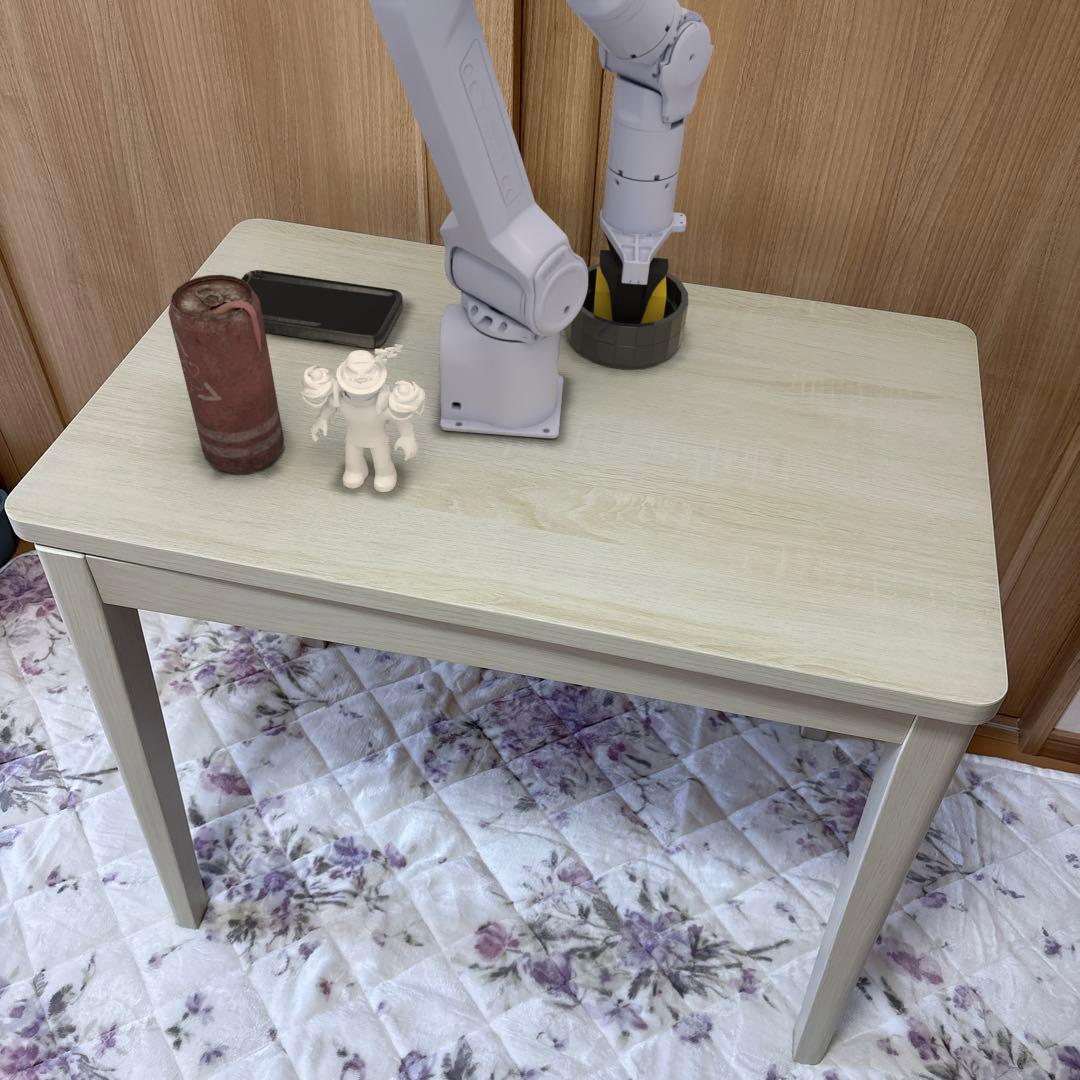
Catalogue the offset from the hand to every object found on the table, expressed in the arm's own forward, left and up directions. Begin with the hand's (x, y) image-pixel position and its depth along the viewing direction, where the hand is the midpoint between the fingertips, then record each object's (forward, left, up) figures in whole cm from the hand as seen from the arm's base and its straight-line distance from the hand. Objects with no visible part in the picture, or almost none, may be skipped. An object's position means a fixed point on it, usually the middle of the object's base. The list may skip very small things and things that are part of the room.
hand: (626, 311), depth 93 cm
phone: (-28, 0, -3) cm, 28 cm away
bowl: (0, 0, -3) cm, 3 cm away
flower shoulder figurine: (-19, -21, -3) cm, 29 cm away
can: (-29, -19, -3) cm, 35 cm away
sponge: (0, 0, -1) cm, 1 cm away
